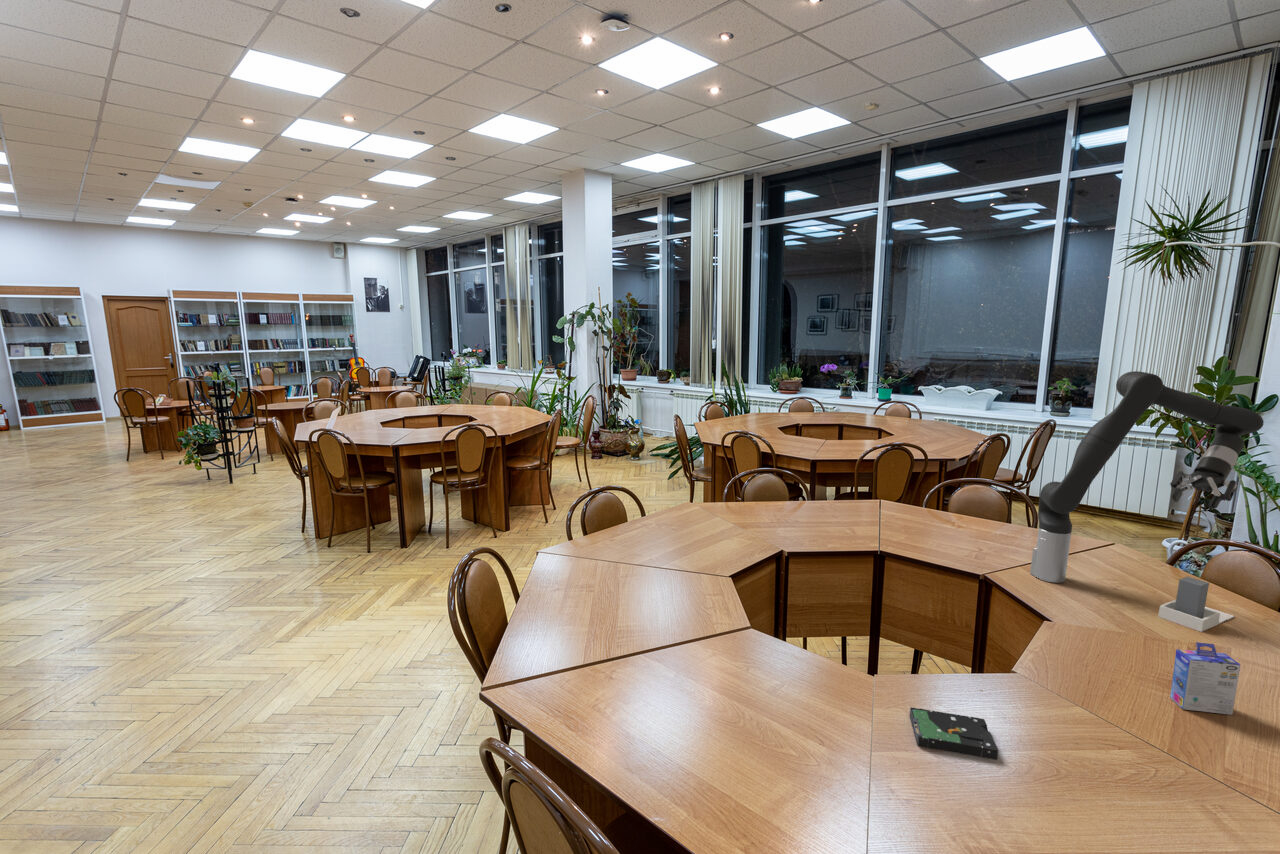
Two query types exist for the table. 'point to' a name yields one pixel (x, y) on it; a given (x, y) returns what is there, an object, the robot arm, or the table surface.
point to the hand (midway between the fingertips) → (1192, 504)
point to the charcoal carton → (1191, 596)
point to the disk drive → (952, 733)
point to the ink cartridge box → (1205, 680)
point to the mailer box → (1208, 621)
